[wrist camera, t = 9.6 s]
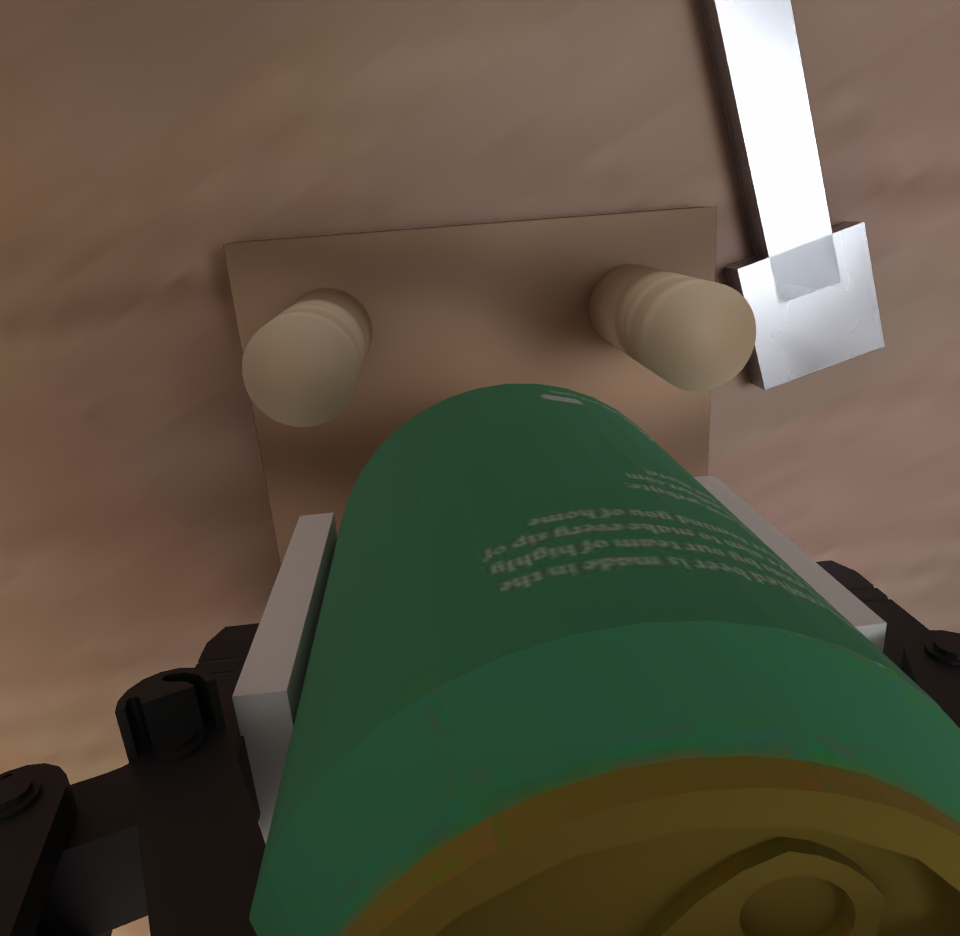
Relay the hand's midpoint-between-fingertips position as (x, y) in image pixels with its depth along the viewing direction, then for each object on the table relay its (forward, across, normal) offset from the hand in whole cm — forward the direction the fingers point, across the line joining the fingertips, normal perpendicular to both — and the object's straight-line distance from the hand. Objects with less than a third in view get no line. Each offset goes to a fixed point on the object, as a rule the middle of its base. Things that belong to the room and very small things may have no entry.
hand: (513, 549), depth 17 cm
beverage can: (+1, 0, 0) cm, 1 cm away
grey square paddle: (+8, +9, +9) cm, 15 cm away
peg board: (+8, 0, 0) cm, 8 cm away
